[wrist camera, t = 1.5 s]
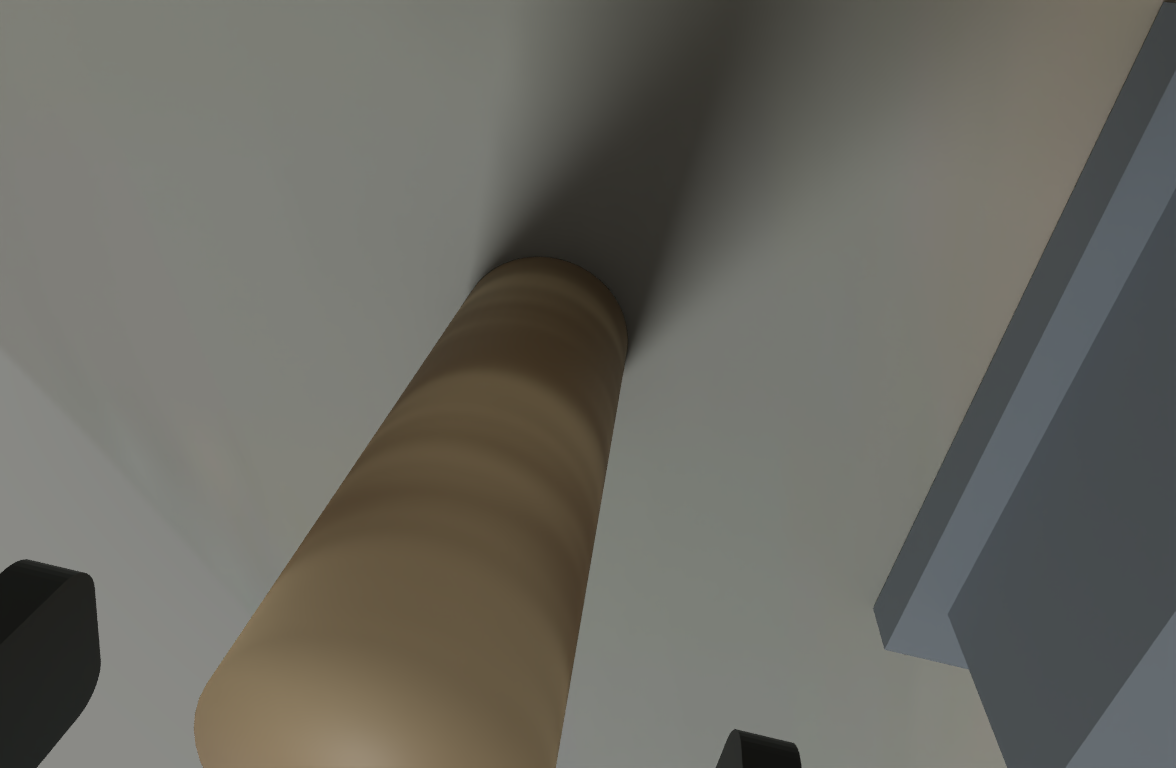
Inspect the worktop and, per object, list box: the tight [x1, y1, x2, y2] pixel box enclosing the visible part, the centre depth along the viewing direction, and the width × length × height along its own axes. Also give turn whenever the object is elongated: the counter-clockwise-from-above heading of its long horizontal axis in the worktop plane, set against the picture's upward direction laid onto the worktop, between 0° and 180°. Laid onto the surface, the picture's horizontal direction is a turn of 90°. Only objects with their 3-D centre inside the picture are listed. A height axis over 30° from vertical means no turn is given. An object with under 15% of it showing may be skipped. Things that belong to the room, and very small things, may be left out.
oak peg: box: [194, 257, 628, 768], centre depth 15 cm, size 4×4×12 cm
